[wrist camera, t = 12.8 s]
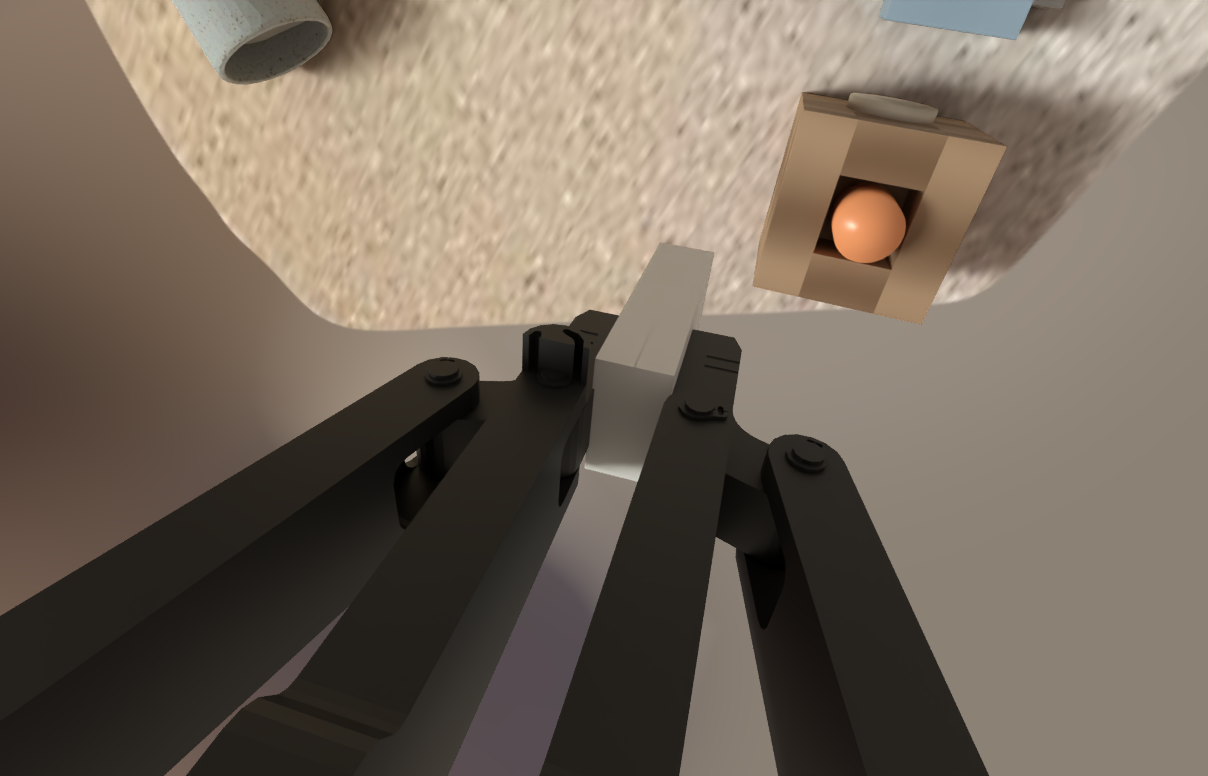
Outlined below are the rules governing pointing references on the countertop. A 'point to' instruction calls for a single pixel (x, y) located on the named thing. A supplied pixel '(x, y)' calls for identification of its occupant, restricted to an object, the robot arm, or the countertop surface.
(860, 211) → the orange rounded cylinder
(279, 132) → the countertop surface
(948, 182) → the wooden box
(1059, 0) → the rail
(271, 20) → the ceramic mug
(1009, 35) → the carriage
